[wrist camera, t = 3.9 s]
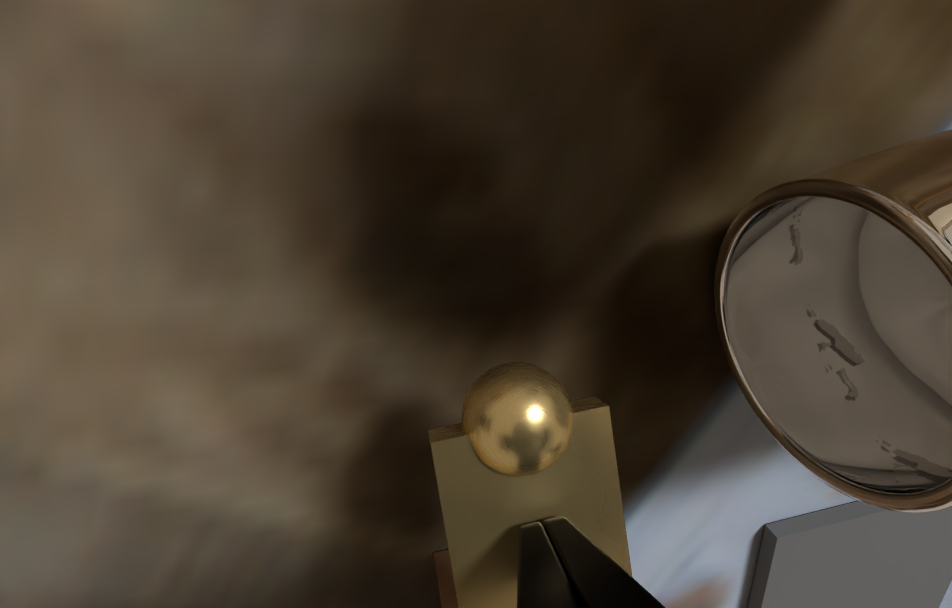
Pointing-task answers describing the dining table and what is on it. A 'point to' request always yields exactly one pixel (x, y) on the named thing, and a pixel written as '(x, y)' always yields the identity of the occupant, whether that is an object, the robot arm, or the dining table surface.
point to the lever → (523, 477)
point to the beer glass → (850, 322)
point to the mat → (855, 559)
